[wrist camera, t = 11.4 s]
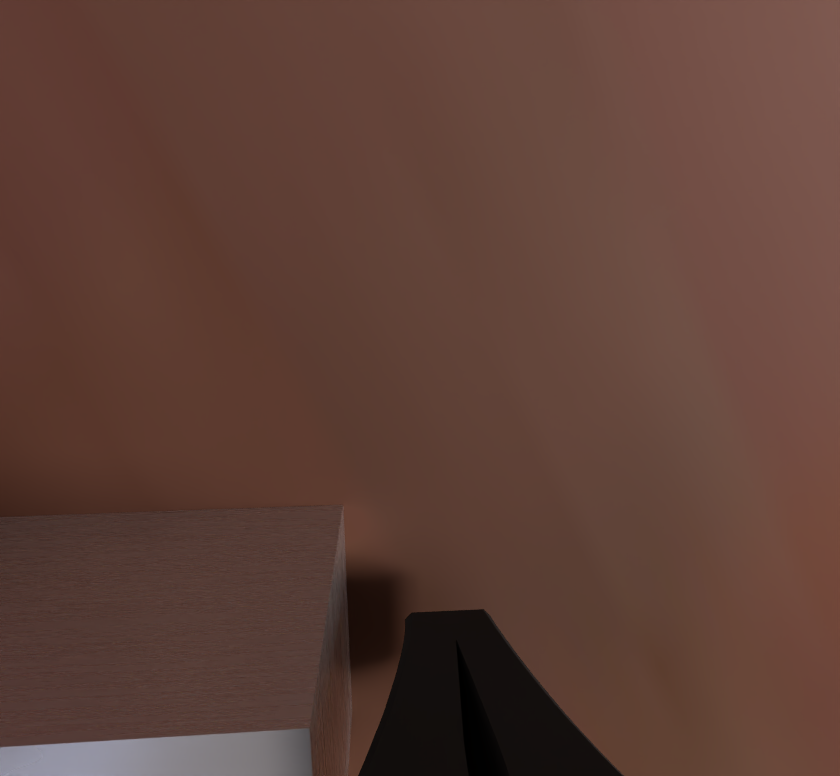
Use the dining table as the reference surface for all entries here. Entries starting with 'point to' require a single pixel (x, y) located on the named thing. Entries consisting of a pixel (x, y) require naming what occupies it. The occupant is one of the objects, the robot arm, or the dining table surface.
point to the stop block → (175, 643)
